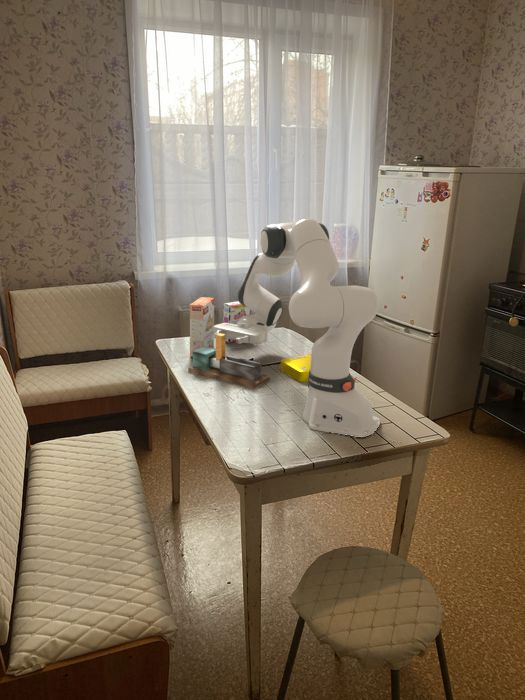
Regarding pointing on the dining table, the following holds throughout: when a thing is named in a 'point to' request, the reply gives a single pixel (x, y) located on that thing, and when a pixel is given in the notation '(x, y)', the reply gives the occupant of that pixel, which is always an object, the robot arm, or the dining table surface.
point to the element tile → (297, 367)
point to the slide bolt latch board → (228, 369)
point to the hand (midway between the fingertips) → (226, 338)
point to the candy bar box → (234, 314)
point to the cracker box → (201, 324)
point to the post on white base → (218, 351)
